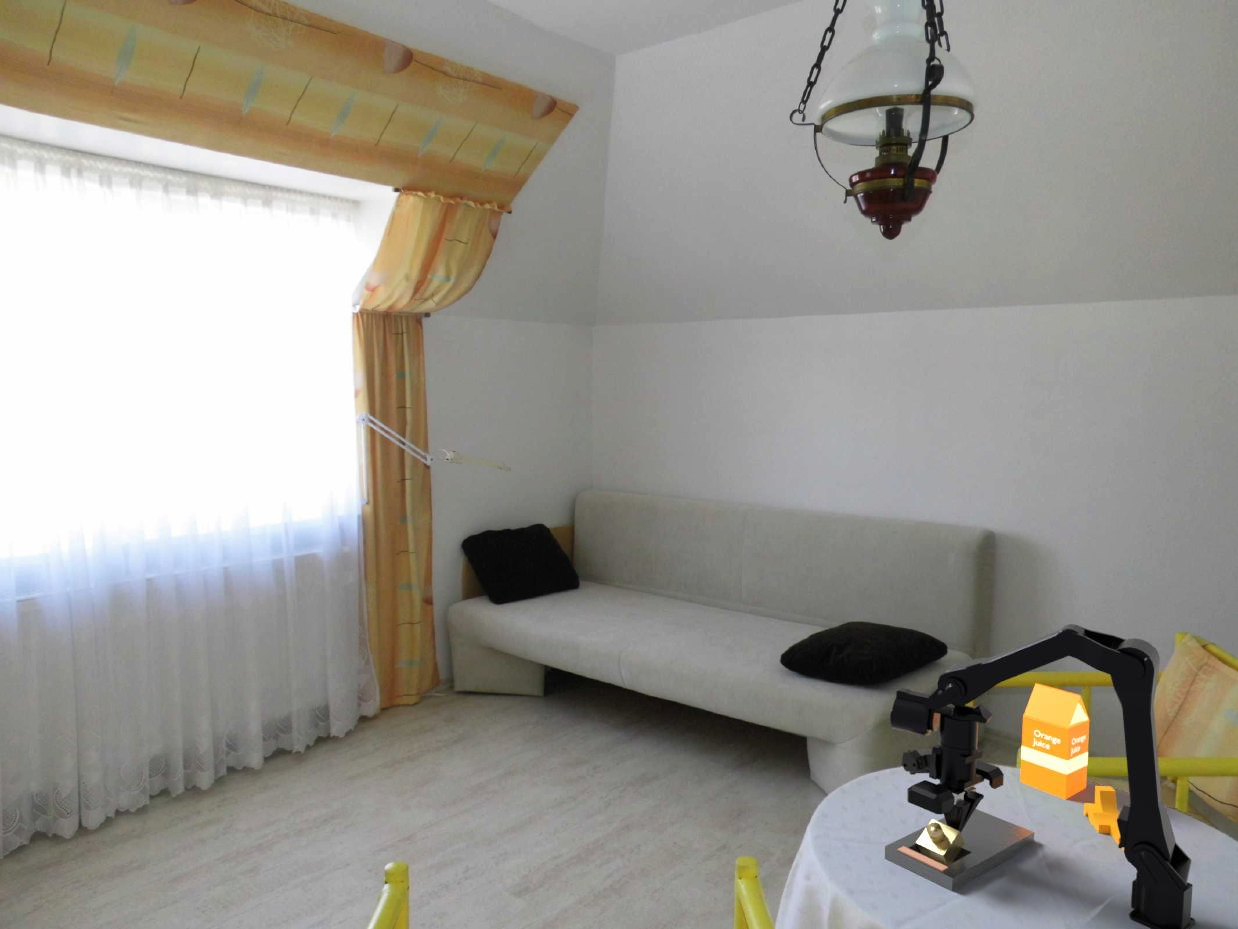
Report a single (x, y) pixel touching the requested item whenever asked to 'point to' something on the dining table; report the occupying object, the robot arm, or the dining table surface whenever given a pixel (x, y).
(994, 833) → the dark grey slab
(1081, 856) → the dining table surface
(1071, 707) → the orange juice
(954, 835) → the gold block with knob
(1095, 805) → the pipe clamp
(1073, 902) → the dining table surface
